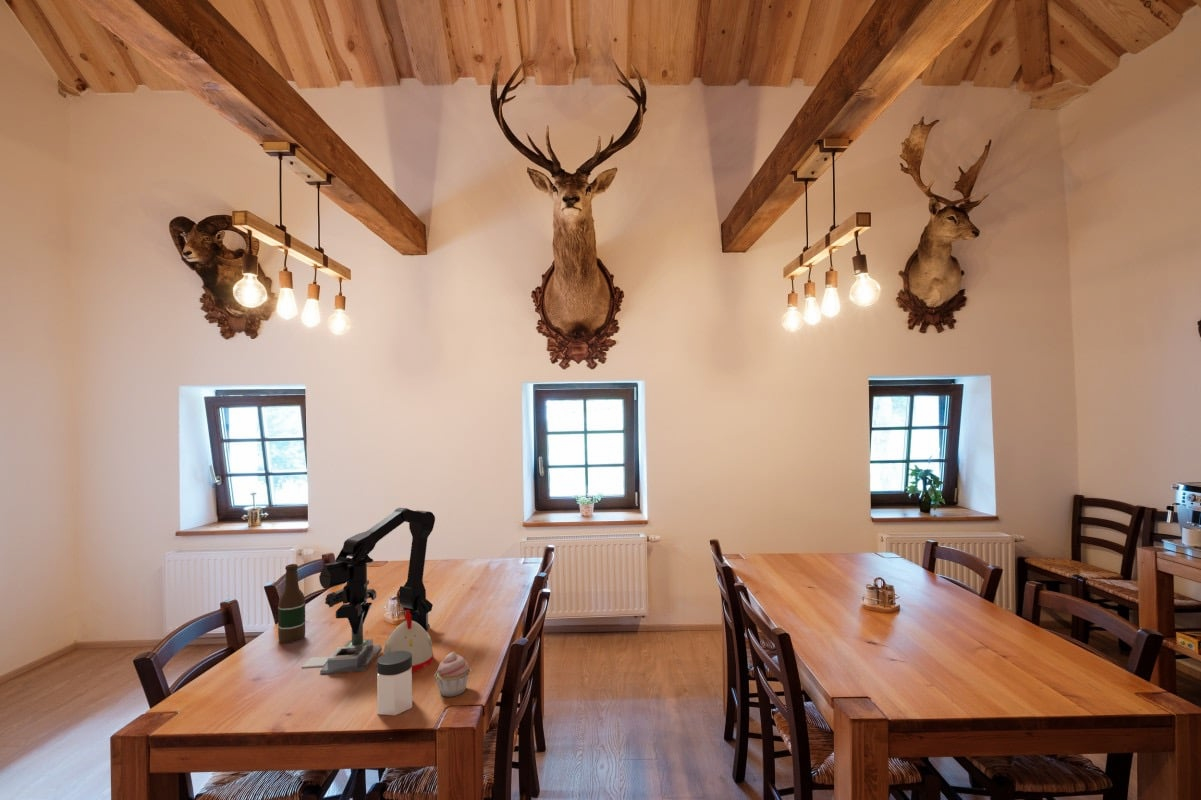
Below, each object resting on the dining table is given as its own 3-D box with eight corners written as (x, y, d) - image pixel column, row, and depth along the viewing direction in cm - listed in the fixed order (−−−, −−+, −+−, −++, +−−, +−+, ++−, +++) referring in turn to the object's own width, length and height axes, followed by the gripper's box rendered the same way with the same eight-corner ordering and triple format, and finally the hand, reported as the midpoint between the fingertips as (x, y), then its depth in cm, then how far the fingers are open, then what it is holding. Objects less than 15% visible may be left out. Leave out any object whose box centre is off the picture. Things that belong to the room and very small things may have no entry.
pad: (331, 657, 166) (331, 656, 166) (323, 666, 160) (323, 665, 160) (310, 659, 165) (310, 657, 165) (301, 668, 159) (301, 666, 159)
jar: (402, 694, 142) (402, 647, 142) (420, 704, 136) (419, 655, 137) (369, 709, 135) (368, 659, 135) (386, 720, 130) (385, 668, 130)
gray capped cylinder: (353, 641, 170) (352, 608, 170) (365, 640, 170) (365, 607, 170) (349, 646, 166) (348, 612, 166) (361, 645, 166) (361, 611, 167)
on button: (367, 646, 170) (367, 640, 170) (362, 652, 166) (362, 645, 166) (352, 647, 170) (352, 641, 170) (347, 653, 165) (347, 646, 166)
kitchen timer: (385, 677, 152) (385, 622, 152) (380, 658, 164) (379, 607, 165) (437, 666, 158) (436, 613, 159) (428, 649, 170) (428, 599, 171)
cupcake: (472, 696, 140) (472, 656, 140) (434, 703, 137) (433, 662, 138) (470, 680, 149) (470, 642, 149) (434, 686, 146) (433, 647, 146)
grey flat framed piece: (381, 648, 172) (381, 634, 172) (364, 671, 156) (364, 655, 156) (341, 650, 171) (340, 636, 171) (320, 674, 155) (320, 658, 155)
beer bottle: (310, 635, 184) (310, 562, 185) (290, 644, 177) (290, 568, 178) (293, 633, 187) (292, 561, 187) (272, 642, 179) (272, 567, 180)
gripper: (340, 572, 177) (341, 622, 177) (316, 590, 159) (317, 645, 158) (376, 571, 178) (377, 620, 178) (357, 588, 160) (357, 643, 159)
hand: (357, 631), depth 168 cm, fingers closed on gray capped cylinder, 3 cm apart
